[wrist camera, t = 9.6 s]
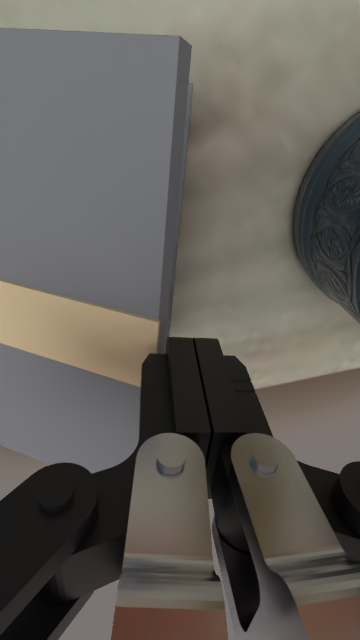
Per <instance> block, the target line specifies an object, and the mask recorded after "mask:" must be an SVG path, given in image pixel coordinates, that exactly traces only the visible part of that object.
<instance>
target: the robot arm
mask: <svg viewBox="0 0 360 640" xmlns="http://www.w3.org/2000/svg"><path fill="white" fill-rule="evenodd" d="M208 499H212V501H213V507H214V513H215V514H214V518H213V523H212V534H213V540H214V544H215V549H216V553H217V557H218V562H219V566H220V571H221V575H222V580H223V584H224V589H225V593H226V598H227V602H228V606H229V611H230V616H231V620H232V624H233V629H234V635H235V640H360V462H352V463H349V464H347V465H346V466H345V467H343V469H342V471H341V473H340V474H337V473H334V472H330V471H326V470H323V469H320V468H316V467H312V466H309V465H306V464H304V463H301V462H299V461H297V460H296V458H295V457H294V455H293V453H292V452H291V451H290V450H289V448H288V447H287V446H286V445H284V444H283V443H282V442H280V441H279V440H277V439H275V438H274V437H273V435H272V433H271V430H270V428H269V425H268V422H267V420H266V417H265V415H264V412H263V410H262V407H261V405H260V402H259V400H258V397H257V395H256V393H255V389H254V387H253V384H252V382H251V379H250V377H249V374H248V372H247V369H246V367H245V366H244V365H243V364H242V363H241V362H240V361H239V360H238V359H237V358H236V357H235V356H224V355H223V353H222V350H221V347H220V344H219V341H218V339H213V338H193V339H192V338H183V337H167V341H166V351H165V354H155V353H149V355H148V356H147V357H146V359H145V360H144V362H143V363H142V370H141V390H140V415H139V442H138V445H137V447H136V449H135V450H134V452H133V453H132V454H131V455H130V456H129V457H128V458H127V459H126V460H124V461H123V462H122V463H120V464H118V465H116V466H114V467H111V468H108V469H105V470H102V471H99V472H95V473H92V474H91V472H89V471H88V470H87V469H86V468H84V467H83V466H81V465H78V464H74V463H66V462H63V463H56V464H52V465H49V466H46V467H44V468H42V469H40V470H38V471H37V472H35V473H34V474H33V475H31V476H30V477H29V478H28V479H26V480H25V481H24V482H23V483H21V484H20V485H19V486H18V487H17V488H16V489H14V490H13V491H12V492H11V493H9V494H8V495H7V496H6V497H4V498H3V499H2V500H1V501H0V640H58V639H59V638H60V636H61V635H62V634H63V632H64V631H65V630H66V628H67V627H68V626H69V624H70V623H71V622H72V620H73V619H74V617H75V616H76V615H77V614H78V612H79V611H80V610H81V608H82V607H83V606H84V604H85V603H86V602H87V601H88V599H89V598H90V597H91V595H92V594H93V592H94V590H96V589H98V588H100V587H102V586H105V585H107V584H109V583H111V582H113V581H116V580H118V579H119V584H118V590H117V597H116V605H115V613H114V620H113V627H112V635H111V640H228V633H227V622H226V612H225V602H224V595H223V589H222V585H221V581H220V578H219V576H218V575H216V573H215V570H214V565H213V556H212V543H211V532H210V531H211V530H210V518H209V505H208Z"/></svg>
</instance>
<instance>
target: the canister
mask: <svg viewBox="0 0 360 640" xmlns="http://www.w3.org/2000/svg"><path fill="white" fill-rule="evenodd" d="M294 239H295V244H296V248H297V251H298V254H299V257H300V259H301V261H302V264H303V266H304V269H305V270H306V272H307V274H308V276H309V277H310V279H311V280H312V281H313V283H314V284H315V285H316V286H317V287H318V288H319V289H320V290H321V291H322V292H323V293H324V294H325V295H326V296H327V297H329V298H330V299H331V300H333V301H334V302H336V303H338V304H340V305H341V306H342V307H343V308H344V309H345V310H346V311H347V312H348V313H349V314H350V315H351V316H352V317H353V318H354V319H355V320H356V321H357V322H359V323H360V112H359V113H357V114H356V115H354V116H353V117H352V118H351V119H349V120H348V121H347V122H346V123H345V124H344V125H342V126H341V127H340V128H339V129H338V130H337V131H336V132H335V133H334V134H333V135H332V137H331V138H330V139H329V140H328V141H327V142H326V144H325V145H324V146H323V148H322V149H321V150H320V152H319V153H318V155H317V156H316V158H315V159H314V161H313V162H312V164H311V166H310V168H309V170H308V172H307V174H306V176H305V178H304V180H303V183H302V185H301V188H300V191H299V194H298V198H297V202H296V207H295V213H294Z"/></svg>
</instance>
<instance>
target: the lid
mask: <svg viewBox="0 0 360 640" xmlns="http://www.w3.org/2000/svg"><path fill="white" fill-rule="evenodd" d="M191 48H192V45H190V44H189V43H188V42H187V41H185V40H184V39H183V38H181V37H180V36H168V35H146V34H125V33H103V32H81V31H59V30H38V29H16V28H0V445H2V446H4V447H7V448H9V449H12V450H14V451H17V452H19V453H22V454H24V455H27V456H29V457H32V458H34V459H37V460H39V461H42V462H44V463H47V464H49V465H52V464H56V463H63V462H66V463H74V464H78V465H81V466H83V467H84V468H86V469H87V470H88V471H89V472H91V474H92V473H95V472H99V471H102V470H105V469H108V468H111V467H114V466H116V465H118V464H120V463H122V462H123V461H124V460H126V459H127V458H128V457H129V456H130V455H131V454H132V453H133V452H134V450H135V449H136V447H137V445H138V442H139V415H140V390H141V370H142V363H143V362H144V360H145V359H146V357H147V356H148V355H149V353H155V354H164V350H165V339H166V328H167V317H168V306H169V294H170V283H171V272H172V261H173V250H174V238H175V227H176V216H177V205H178V194H179V182H180V171H181V160H182V149H183V138H184V126H185V115H186V104H187V93H188V82H189V70H190V59H191Z"/></svg>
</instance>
